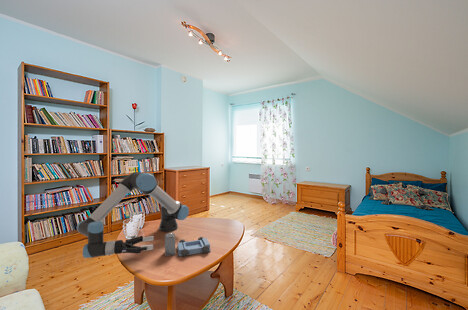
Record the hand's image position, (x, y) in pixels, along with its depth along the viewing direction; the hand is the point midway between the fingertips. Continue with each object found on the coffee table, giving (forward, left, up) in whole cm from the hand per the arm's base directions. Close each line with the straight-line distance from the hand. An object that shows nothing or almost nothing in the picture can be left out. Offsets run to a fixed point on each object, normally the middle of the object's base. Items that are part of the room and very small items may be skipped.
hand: (153, 242), depth 132 cm
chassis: (0, +25, -9) cm, 26 cm away
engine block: (0, +10, -9) cm, 13 cm away
